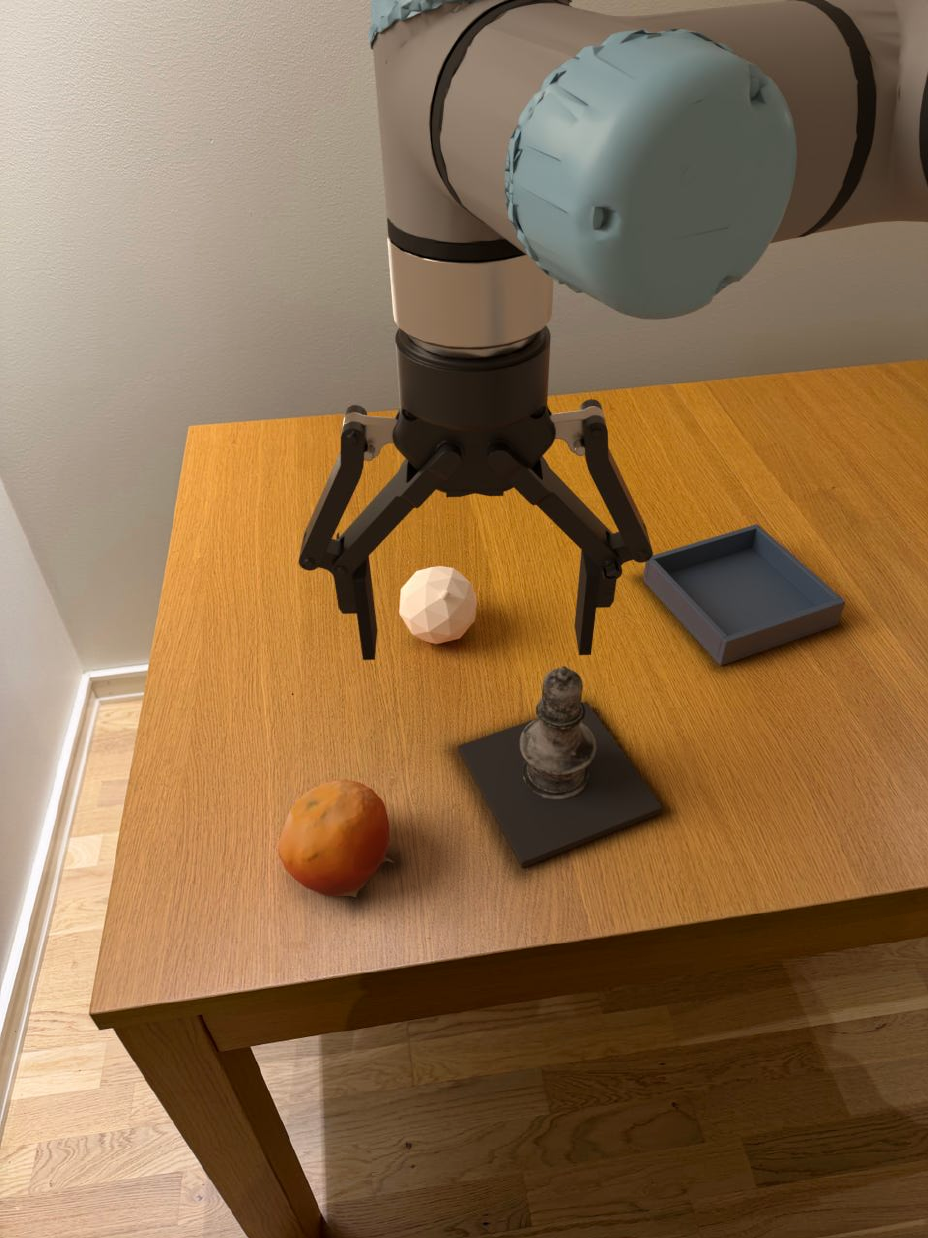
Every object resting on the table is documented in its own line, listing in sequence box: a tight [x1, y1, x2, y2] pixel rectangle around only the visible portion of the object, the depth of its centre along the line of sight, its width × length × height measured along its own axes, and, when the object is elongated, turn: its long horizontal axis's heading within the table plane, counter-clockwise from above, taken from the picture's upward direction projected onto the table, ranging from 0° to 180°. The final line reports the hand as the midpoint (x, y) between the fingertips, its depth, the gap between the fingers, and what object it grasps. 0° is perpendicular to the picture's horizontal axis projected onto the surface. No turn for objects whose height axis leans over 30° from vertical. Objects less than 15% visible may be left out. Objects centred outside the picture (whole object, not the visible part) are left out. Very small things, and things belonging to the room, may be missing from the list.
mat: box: [457, 701, 663, 869], centre depth 71 cm, size 12×12×1 cm
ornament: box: [398, 565, 478, 645], centre depth 81 cm, size 7×7×8 cm
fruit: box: [277, 778, 394, 899], centre depth 64 cm, size 8×8×8 cm
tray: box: [642, 523, 847, 667], centre depth 85 cm, size 13×13×3 cm
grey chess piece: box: [520, 665, 596, 800], centre depth 66 cm, size 6×6×12 cm
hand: (476, 643), depth 57 cm, fingers open, 13 cm apart
